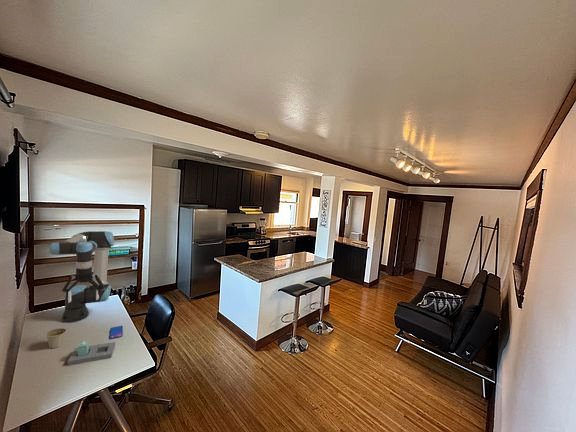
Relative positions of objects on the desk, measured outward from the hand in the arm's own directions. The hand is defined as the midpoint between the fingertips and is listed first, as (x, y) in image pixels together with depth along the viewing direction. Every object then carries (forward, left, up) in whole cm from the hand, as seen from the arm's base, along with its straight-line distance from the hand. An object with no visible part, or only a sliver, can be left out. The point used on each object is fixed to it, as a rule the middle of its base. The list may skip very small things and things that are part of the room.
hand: (83, 300), depth 151 cm
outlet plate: (+14, +8, -29) cm, 33 cm away
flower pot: (-3, -14, -29) cm, 32 cm away
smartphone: (-8, +16, -29) cm, 34 cm away
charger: (+14, +4, -28) cm, 32 cm away
